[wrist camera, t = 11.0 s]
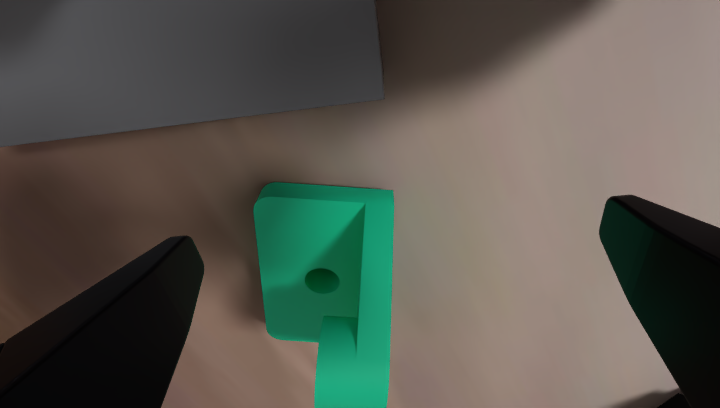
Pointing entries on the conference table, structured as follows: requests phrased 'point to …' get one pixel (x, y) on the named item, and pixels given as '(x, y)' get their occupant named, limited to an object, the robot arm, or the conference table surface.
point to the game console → (676, 402)
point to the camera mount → (330, 283)
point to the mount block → (178, 62)
